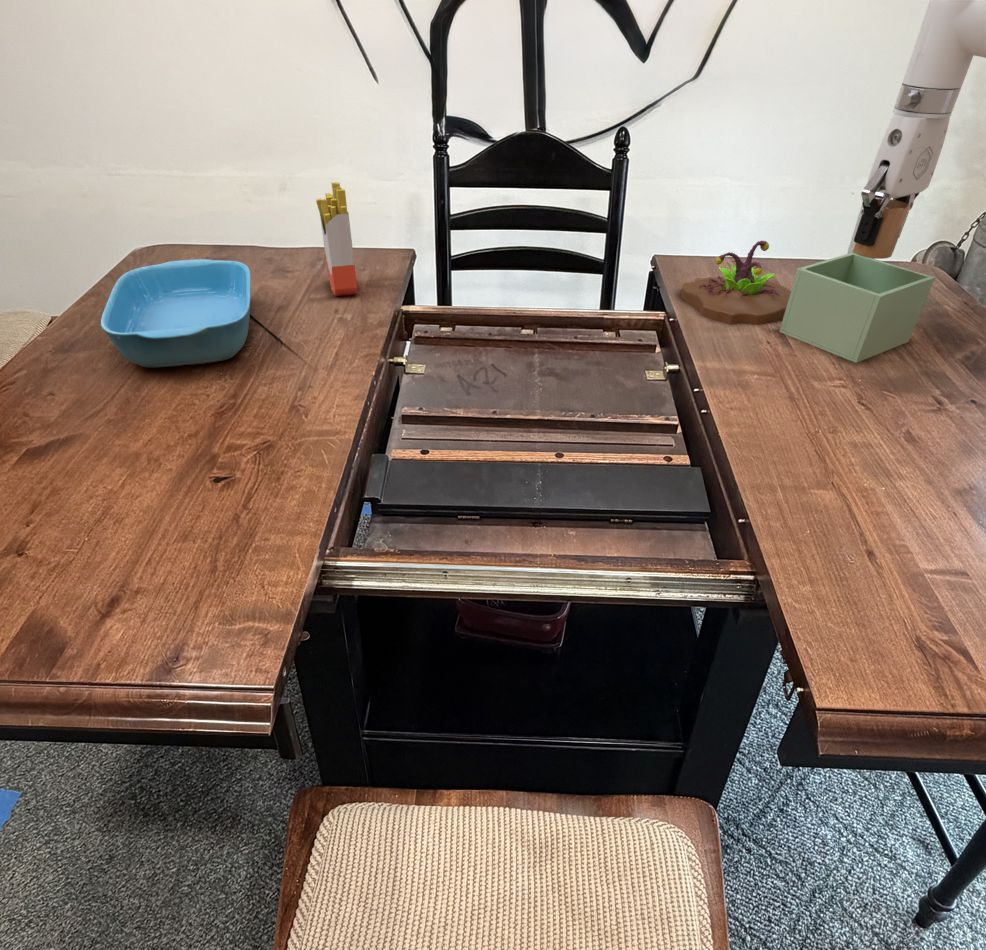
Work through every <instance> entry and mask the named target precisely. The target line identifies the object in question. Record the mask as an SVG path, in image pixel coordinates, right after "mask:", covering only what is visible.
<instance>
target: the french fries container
mask: <svg viewBox="0 0 986 950" xmlns="http://www.w3.org/2000/svg"><path fill="white" fill-rule="evenodd" d="M331 191H332V194H331V192H328V193H327V192H326V193H325V198H317V199H315V202H316V205H317V208H318V211H319V219H320V226H321V233H322V241H323V247H324V249H323V250H324V254H325V262H326V270H327V276H328V279H329V285H330V289H331V291H332V292H333V295H334V297H341V296H352V295H353V296H354V295H358V282H357V275H356V273H357V272H356V265H355V256H354V248H353V239H352V231H351V222H350V215H349V212H348V204H347V196H346V190H345V189H344V188H342V187H341V184H340V182H337V181H336V182H331Z"/></svg>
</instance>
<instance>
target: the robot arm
mask: <svg viewBox="0 0 986 950" xmlns="http://www.w3.org/2000/svg"><path fill="white" fill-rule="evenodd" d="M974 57H980V58H984V59H986V0H929V1H928V4H927V7H926V10H925V13H924V16H923V19H922V22H921V25H920V27H919V31H918V35H917V37H916V39H915V43H914V46H913V49H912V52H911V55H910V58H909V61H908V64H907V67H906V69H905V73H904V76H903V79H902V83H901V86H900V88H899V92H898V94H897V97H896V100H895V103H894V107H893V109H892V113H893V115H892V117H891V119H890V121H889V123H888V125H887V128H886V129H885V132H884V135H883V137H882V138H881V139H882V140H881V142H880V144H879V147H878V149H877V152H876V154H875V158H874V160H873V163H872V166H871V169H870V172H869V175H868V179H867V182H866V185H865V186H864V188H863V189H862V190H861V193H860V196H861V201H862V203H861V206H862V205H863V209H862V211H861V214H862V217H861V220H860V223H859V226H858V229H857V232H856V235H855V238H854V242H856V243H859V244H862V245H866V246H869V247H870V246H873V245H874V243H875V241H876V238H877V235H878V232H879V229H880V227H881V224H882V221H883V218H881V216H882V214H883V212H884V210H885V208H886V206H887V204H888V203H889V201H890V199H892V200H898V201H902V202H905V203H907V204H909V205H910V209H909V211H908V214H907V217H906V219H905V222H904V225H903V227H902V230H901V233H900V235H899V238H900V237H901V234H902V231H903V229H904V226H905V225H906V221H907V218H908V216H909V213H910V211H911V210H912V209H913V206H914V202H915V200H916V198H917V197H918V196H919V195H920V193H922V192H924V191H925V190H926V189H927V188H928V187H929V186H930V183H931V182H932V179H933V176H934V173H935V170H936V167H937V165H938V161H939V158H940V155H941V152H942V149H943V146H944V143H945V141H946V136H947V132H948V129H949V126H950V125H949V124H950V120H951V116H952V113H953V111H954V108H955V105H956V103H957V100H958V97H959V95H960V92H961V91H962V87H963V84H964V81H965V79H966V76H967V74H968V71H969V69H970V66H971V63H972V61H973V58H974ZM882 190H886V193H882V192H878V191H882ZM876 197H877V198H881V199H882V201H881V203H880V205H879V204H878V200H877V199H876Z"/></svg>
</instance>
